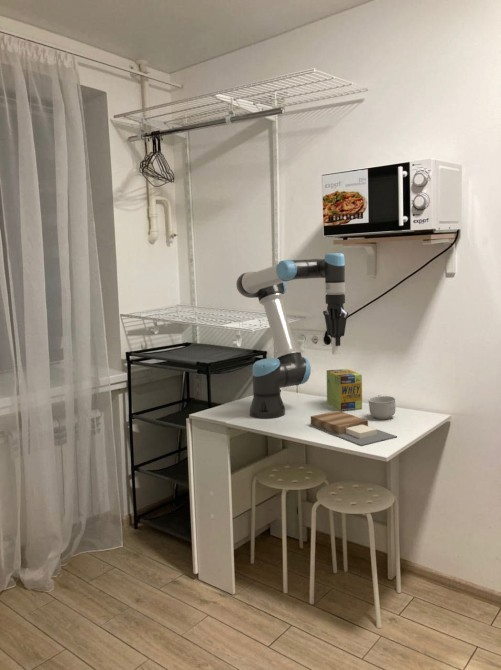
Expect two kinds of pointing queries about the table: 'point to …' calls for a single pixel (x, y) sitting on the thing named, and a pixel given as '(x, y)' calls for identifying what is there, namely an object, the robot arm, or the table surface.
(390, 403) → the teacup
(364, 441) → the mat
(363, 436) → the coaster
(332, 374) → the protein box
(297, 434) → the table surface
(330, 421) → the stand
